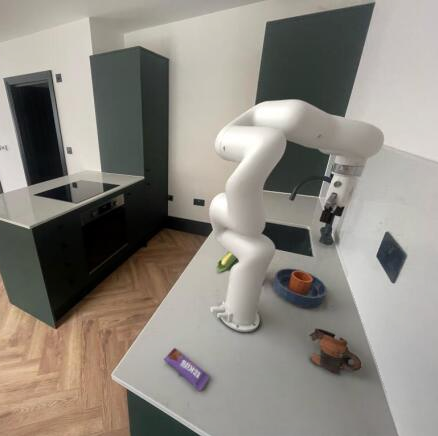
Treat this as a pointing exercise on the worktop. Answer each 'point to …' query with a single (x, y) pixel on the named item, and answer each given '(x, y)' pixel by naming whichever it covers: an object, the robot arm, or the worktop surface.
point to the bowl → (311, 300)
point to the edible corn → (226, 261)
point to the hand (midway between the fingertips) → (330, 218)
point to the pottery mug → (333, 352)
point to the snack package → (187, 369)
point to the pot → (300, 282)
